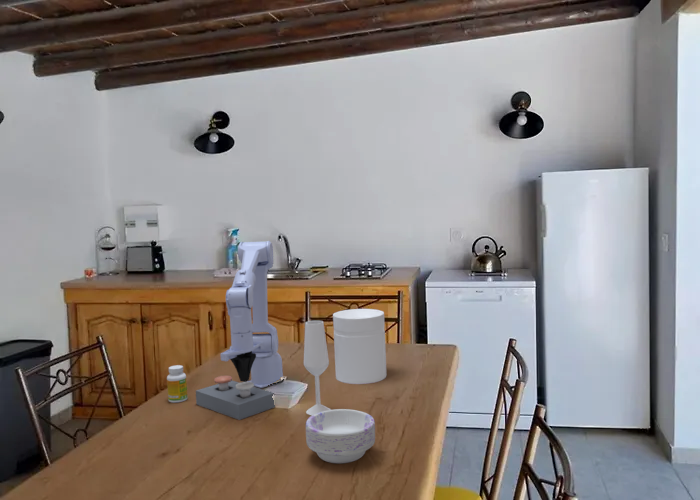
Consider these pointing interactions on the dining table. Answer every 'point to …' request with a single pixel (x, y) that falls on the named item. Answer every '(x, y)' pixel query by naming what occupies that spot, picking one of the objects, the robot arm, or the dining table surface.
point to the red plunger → (223, 382)
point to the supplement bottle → (177, 384)
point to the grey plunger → (244, 389)
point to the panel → (234, 401)
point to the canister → (359, 346)
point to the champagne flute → (315, 358)
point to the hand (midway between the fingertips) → (244, 380)
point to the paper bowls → (340, 434)
